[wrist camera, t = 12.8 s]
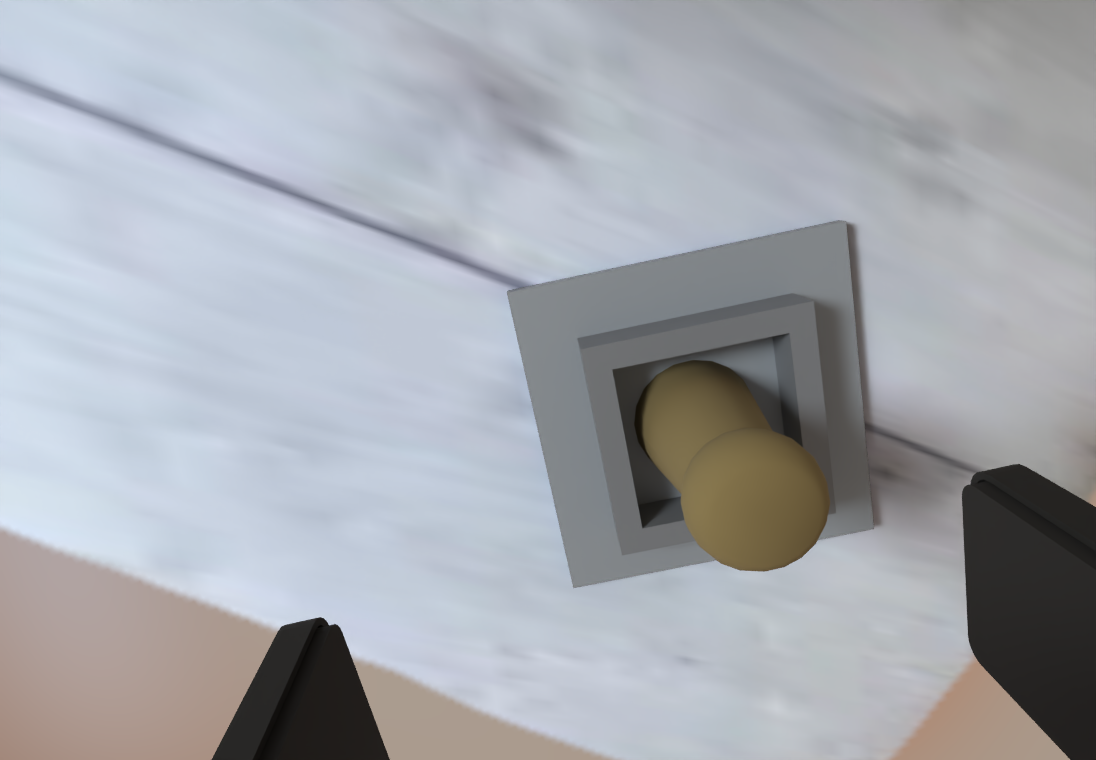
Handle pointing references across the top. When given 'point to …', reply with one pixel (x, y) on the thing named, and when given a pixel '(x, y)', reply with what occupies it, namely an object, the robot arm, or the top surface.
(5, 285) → the top surface
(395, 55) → the top surface
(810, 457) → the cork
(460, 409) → the top surface
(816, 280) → the bay base
